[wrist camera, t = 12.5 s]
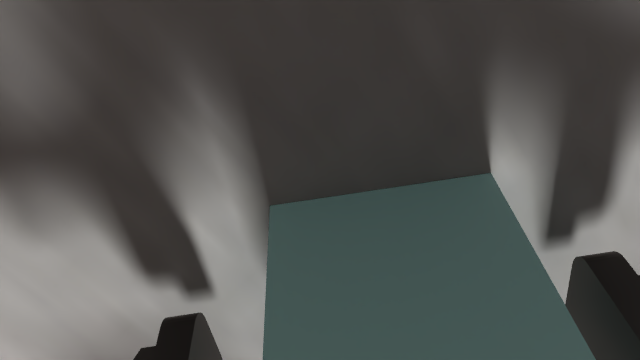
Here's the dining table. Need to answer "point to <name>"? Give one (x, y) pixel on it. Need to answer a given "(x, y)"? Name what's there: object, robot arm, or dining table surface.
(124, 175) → the dining table surface
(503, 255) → the cube
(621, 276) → the robot arm
